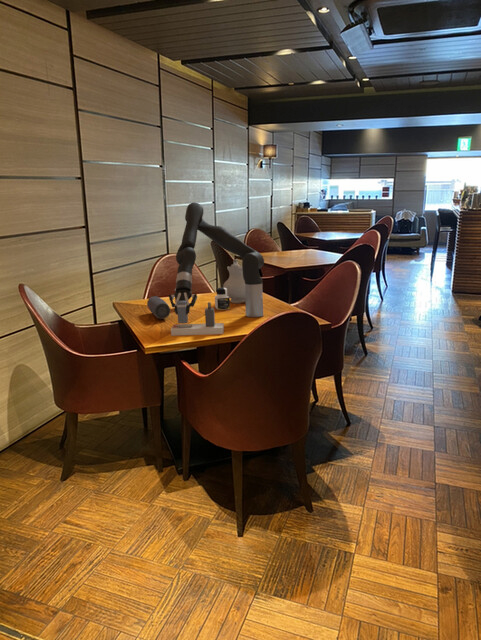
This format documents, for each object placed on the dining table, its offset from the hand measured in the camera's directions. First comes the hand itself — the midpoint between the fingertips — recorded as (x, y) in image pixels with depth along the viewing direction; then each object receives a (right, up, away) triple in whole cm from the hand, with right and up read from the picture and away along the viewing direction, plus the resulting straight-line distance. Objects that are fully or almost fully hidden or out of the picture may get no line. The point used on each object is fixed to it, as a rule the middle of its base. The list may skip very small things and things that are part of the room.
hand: (181, 313), depth 224 cm
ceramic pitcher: (+26, +9, +73) cm, 78 cm away
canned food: (-7, +4, +59) cm, 60 cm away
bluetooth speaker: (-17, -1, +39) cm, 43 cm away
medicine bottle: (+17, +3, +53) cm, 56 cm away
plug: (0, -4, +3) cm, 5 cm away
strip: (+7, -9, +4) cm, 12 cm away
